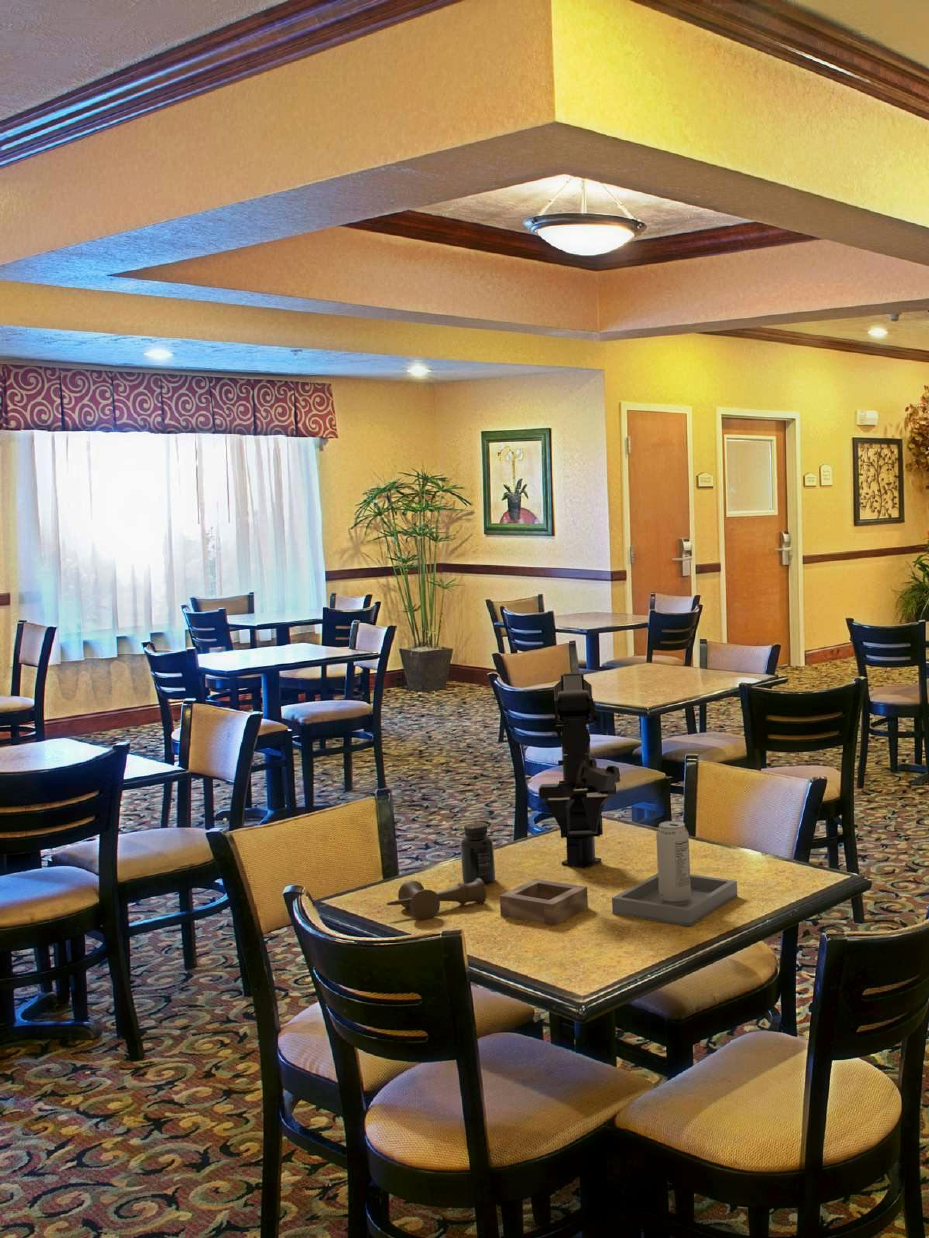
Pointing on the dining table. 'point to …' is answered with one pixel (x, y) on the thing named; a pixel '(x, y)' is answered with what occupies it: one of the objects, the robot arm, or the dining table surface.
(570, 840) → the robot arm
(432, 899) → the kendama
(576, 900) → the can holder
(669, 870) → the energy drink can
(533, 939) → the dining table surface
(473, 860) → the supplement bottle
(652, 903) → the parts tray
